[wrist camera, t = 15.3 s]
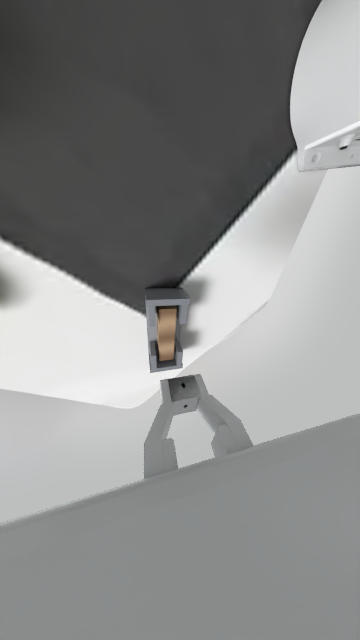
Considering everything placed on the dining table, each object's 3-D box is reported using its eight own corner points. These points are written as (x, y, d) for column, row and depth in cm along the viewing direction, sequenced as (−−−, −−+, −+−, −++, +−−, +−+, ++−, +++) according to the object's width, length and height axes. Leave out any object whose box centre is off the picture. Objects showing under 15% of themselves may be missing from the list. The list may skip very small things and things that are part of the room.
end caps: (144, 288, 29) (146, 300, 24) (182, 287, 31) (190, 298, 26) (148, 354, 39) (150, 372, 34) (177, 351, 41) (182, 367, 36)
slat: (156, 301, 30) (158, 309, 27) (172, 300, 31) (176, 308, 28) (157, 349, 37) (159, 361, 34) (170, 348, 38) (173, 359, 35)
